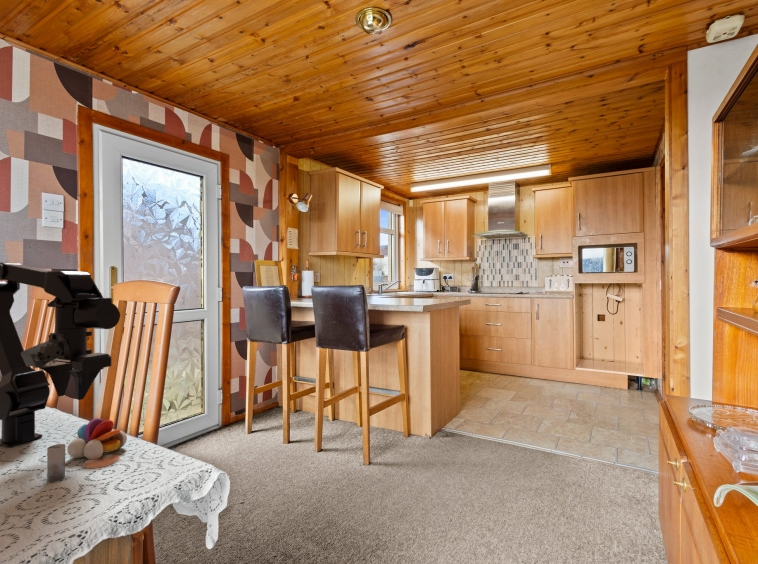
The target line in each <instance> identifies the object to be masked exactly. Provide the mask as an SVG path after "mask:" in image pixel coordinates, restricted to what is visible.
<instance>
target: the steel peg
mask: <svg viewBox="0 0 758 564" xmlns="http://www.w3.org/2000/svg"><path fill="white" fill-rule="evenodd" d="M46 451H47V452H46V453H47V454H46V455H47V457H46V461H47V463H46V464H47V465H46V469H47V470H46V472H47V473H46V479H47V480H46V482H47V483H51V484H52V483H56V482H57V483H58V482H60V481H62V480H64V479H65V478H66V444H64V443H60V444H58V443H57V444H54V445H51V446H47V450H46Z"/></svg>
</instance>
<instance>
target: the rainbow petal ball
mask: <svg viewBox="0 0 758 564" xmlns="http://www.w3.org/2000/svg"><path fill="white" fill-rule="evenodd" d="M127 440H128V436H127V433H126V432H125V431H123V430H120V429H118V428H115V429H114V422H113V421H112V420H111V419H106V420H105V419H104V420H103V418H99V417H97V418H96V417H95V418H93V419H91V420H90V421H89V422H88V423H87V424H82V426H80V427H79V428H78V430H77V437H76V438H74V439H72V440H71V441H70V442H69V444H68V446H67V449H66V450H67V454H68V455H69V456H70V457H71V458H74V459H80V458H83V457H85V458H87V459H88V460H89V459H92V460H94V459H98V458H100V457H101V456H102V455H104V454H103V453H108V452H113V451H114V452H115V451H116V450H120V449H121V448H123V447H124V446H125V444H126V443H127Z"/></svg>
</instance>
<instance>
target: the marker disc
mask: <svg viewBox="0 0 758 564" xmlns="http://www.w3.org/2000/svg"><path fill="white" fill-rule="evenodd" d="M119 459H120V456H119V455H117V454H102V456H101V457H100V458H98V459H94V460H92V459H88V460H86V461H85V462H84V463H83V464H82V465H83V466H82V467H84V468H86V469H97V468H104V467H107V466H109V465H112V464H115V463H116V462H117V460H119Z"/></svg>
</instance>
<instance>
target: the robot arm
mask: <svg viewBox="0 0 758 564" xmlns="http://www.w3.org/2000/svg"><path fill="white" fill-rule="evenodd" d="M22 284H23V285H28V286H32V287H37V288H41V289H43V291H44V292H45V293H46V294H48V295H50V296H52V297H54V299H53V300H51V301H50V302H48V303H47V307H48V308H54V332H50V333H49V335H47V337H48V340H46V341H44V342H41V343H39V344H36V345H33V346H31V347H29V348H27V349H24V348H23V344H22V342H21V339H20V337H19V336H20V335H19V334H18V331H17V328H16V326H15V323H14V320H13V317H12V315H11V309H12V308H13V305H14V303H15V297H14V295H15V294H16V293H17V292H18V291H20V289H21V285H22ZM120 318H121V312H120V310H119V308H118V307H117V305H116V304H115V303H113V299H112V297H104V296H103V294H102V292H101V291H100V289H99V288H98V286H97V285H96V282H95V280H94V279H93V278H92V275H91V274H90V272H87V271H70V270H69V271H67V270H66V271H65V270H64V271H63V270H50V269H44V268H41V267H40V268H38V267H34V266H29V265H24V264H22V263H19V262H2V261H1V262H0V375H1V378H0V421H1V438H0V446H4V447H7V448H10V447H11V448H12V447H14V446H18V445H20V444H21V445H22V444H25V443H27V442H31V441H34V440H36V439H41V438H42V437H43V434H41V433H37V432H36V418H35V417H36V412H37V411H41V410H45V409H46V408H47V407H46V406H47V403H48V400H49V397H50V394H51V393H50V392H51V389H50V385H51V384H50V382H49V381H48V380H47V376H46V375H47V374H48V375H49V377H50V379H51V382H52V384H53V387H54V389H55V392H56V395H57V397H60V398H61V397H63V396H65V394H66V392H67V390H68V389H67V388H68V386H69V381H70V379H71V376H72V377H74V384H75V394H76V398H77V399H76V400H78V401H82V400H84V399H85V398H86V395H87V394H88V392H89V390H90V388H91V386H92V384H93V383H94V382H95V380H96V378H97V377H98V375H99V373H100V372H101V370H104V369H105V368H109V367H112V366H113V357H112V356H111V355H110V354H109V353H106V352H105V353H103V352H92V351H93V349H90V348H88V337H92V335H93V331H91V330H88V329H97V330H98V329H99V330H111V329H113V328H115V327H116V326H117V325H118V323H119V322H120ZM35 368H38V369H40V370H35ZM45 372H46V373H47V374H46V373H45Z"/></svg>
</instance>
